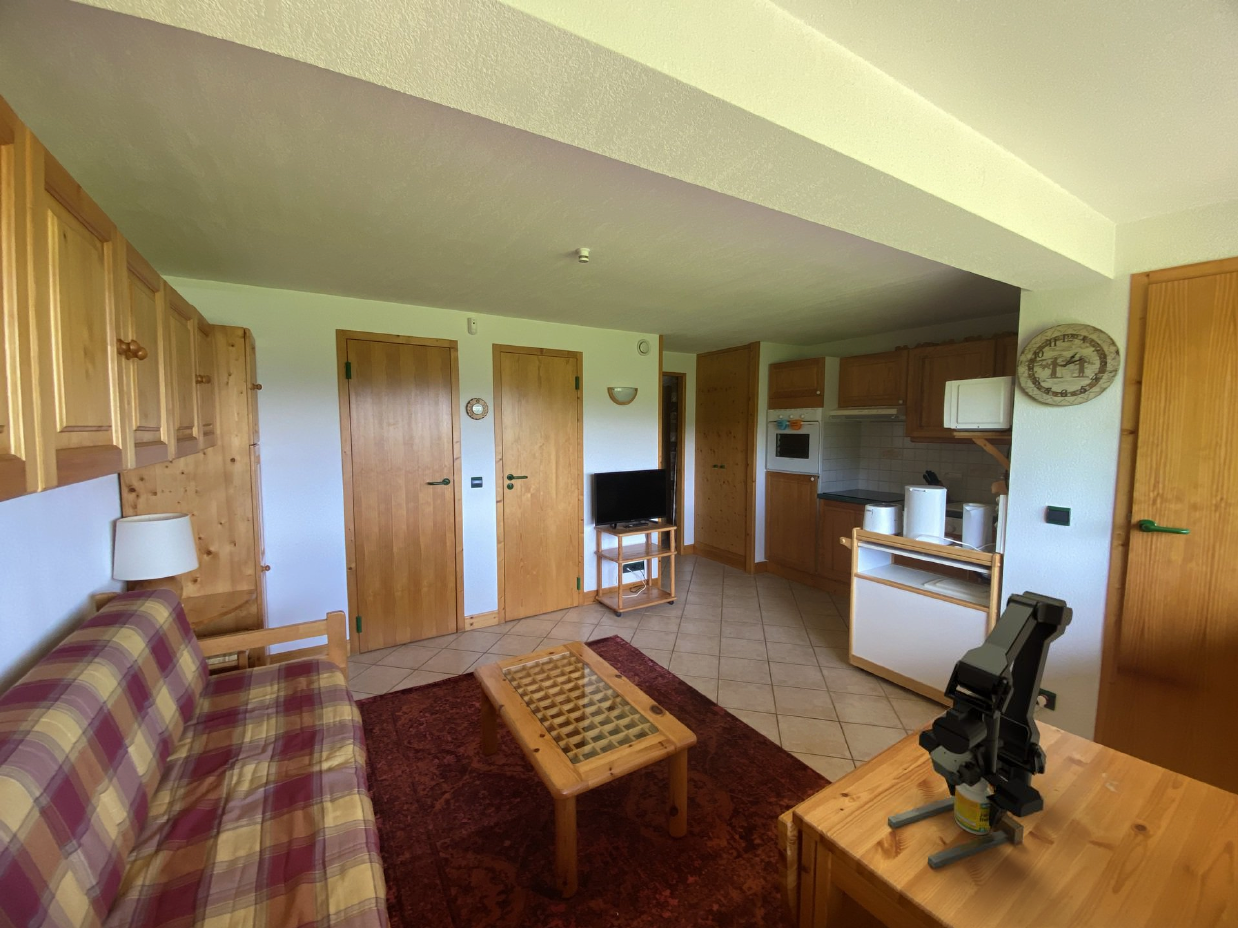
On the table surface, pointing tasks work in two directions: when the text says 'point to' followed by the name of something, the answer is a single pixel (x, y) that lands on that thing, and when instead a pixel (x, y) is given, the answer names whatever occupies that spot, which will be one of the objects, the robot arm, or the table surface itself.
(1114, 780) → the table surface
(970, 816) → the supplement bottle
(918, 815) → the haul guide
